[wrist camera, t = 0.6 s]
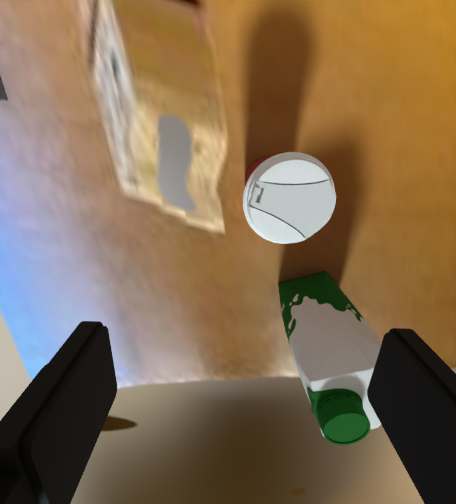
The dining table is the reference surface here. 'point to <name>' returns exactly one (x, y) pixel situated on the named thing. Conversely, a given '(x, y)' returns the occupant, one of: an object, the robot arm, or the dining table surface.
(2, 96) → the gear board
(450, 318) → the dining table surface
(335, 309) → the milk carton
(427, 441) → the robot arm
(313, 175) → the paper cup
